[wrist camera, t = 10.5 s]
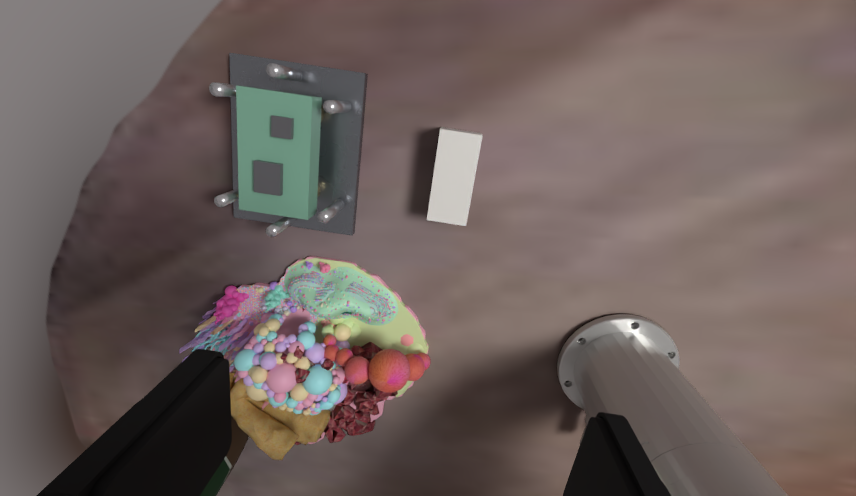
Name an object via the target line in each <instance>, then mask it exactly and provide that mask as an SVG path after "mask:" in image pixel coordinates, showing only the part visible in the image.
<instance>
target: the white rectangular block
mask: <svg viewBox="0 0 856 496" xmlns="http://www.w3.org/2000/svg"><path fill="white" fill-rule="evenodd" d="M482 136H483V135H482V134H481V133H478V132H472V131H465V130H459V129H452V128H445V127H441V128H440V133H439V139H438V146H437V153H436V160H435V167H434V174H433V180H432V187H431V194H430V201H429V208H428V214H427V220H430V221H437V222H443V223H450V224H456V225H463V226H466V223H467V218H468V212H469V207H470V201H471V196H472V190H473V185H474V179H475V174H476V169H477V163H478V158H479V152H480V147H481V141H482Z"/></svg>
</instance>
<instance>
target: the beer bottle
mask: <svg viewBox="0 0 856 496" xmlns="http://www.w3.org/2000/svg"><path fill="white" fill-rule="evenodd" d="M231 427H232V442H231V446H230V449H229V451H228V453H227V455H226V457H225V458H224V460H223V461H222V463H221V464H220V466H219V467H218V469H217V470H216V472H215V473H214V475H213V476H212V478H211V480H210V481H209V483H208V484H207V486H206V487H205V489H204V490H203V492H202V493H201V495H200V496H216V495H217V493H218V491H219V490H220V488H221V486H222V485H223V483H224V482H225V480H226V479H227V477H228V475H229V474H230V472H231V470H232V469H233V467H234V465H235V464H236V462H237V460H238V458H239V456H240V454H241V452H242V450H243V448H244V446H245V444H246V442H247V440H248V435H247V434H246V433H245V432H244V431H243V430H242V429H241V428H240V427H239V426H238V424H237V422H236V420H235V419H234V418H233V417H232V416H231Z"/></svg>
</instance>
